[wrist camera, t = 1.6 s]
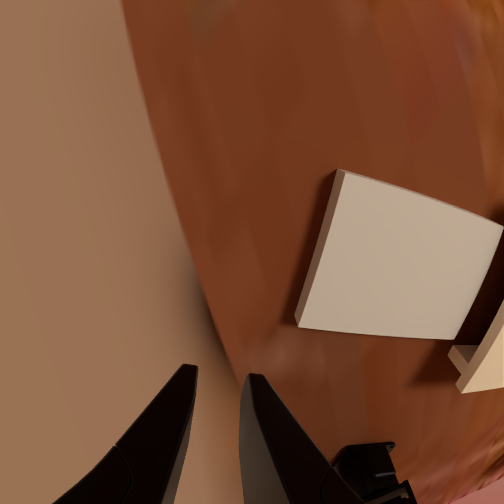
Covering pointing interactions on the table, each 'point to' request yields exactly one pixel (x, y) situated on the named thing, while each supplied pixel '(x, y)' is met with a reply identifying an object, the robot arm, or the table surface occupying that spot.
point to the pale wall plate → (394, 262)
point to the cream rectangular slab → (482, 359)
